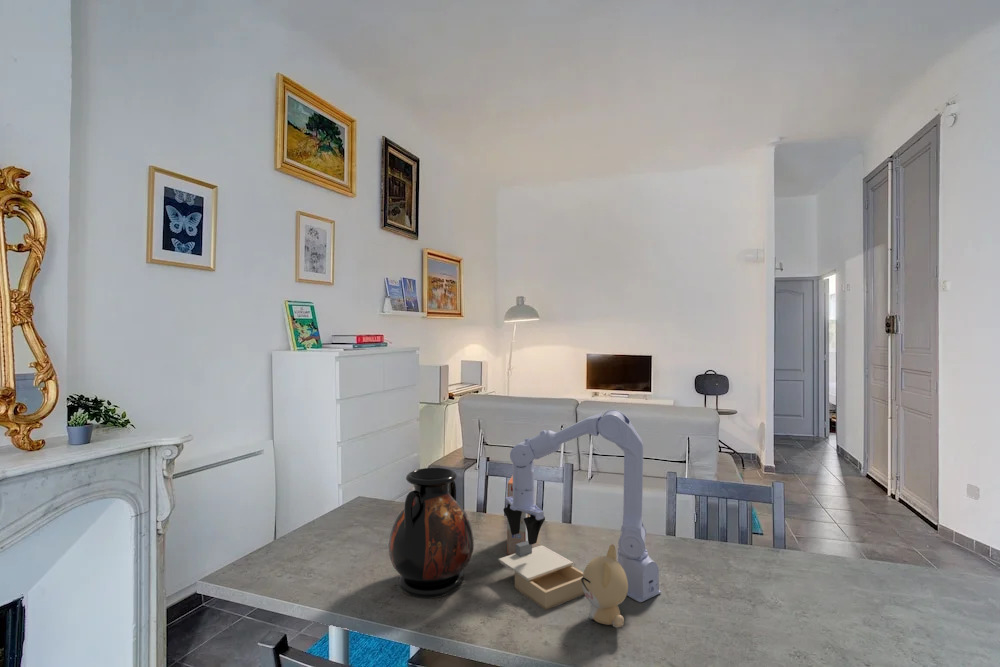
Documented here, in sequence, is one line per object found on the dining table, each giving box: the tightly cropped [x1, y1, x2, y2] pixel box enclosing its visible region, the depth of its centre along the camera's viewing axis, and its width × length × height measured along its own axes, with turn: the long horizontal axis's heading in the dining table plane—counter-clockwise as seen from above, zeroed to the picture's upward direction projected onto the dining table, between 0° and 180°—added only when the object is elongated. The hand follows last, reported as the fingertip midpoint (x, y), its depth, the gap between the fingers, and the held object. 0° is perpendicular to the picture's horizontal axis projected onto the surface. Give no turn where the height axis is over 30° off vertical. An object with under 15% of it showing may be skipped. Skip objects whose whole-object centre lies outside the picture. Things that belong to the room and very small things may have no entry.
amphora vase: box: [387, 467, 475, 599], centre depth 124 cm, size 22×22×28 cm
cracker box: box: [506, 474, 530, 556], centre depth 146 cm, size 14×6×21 cm, turn 168°
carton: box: [514, 565, 585, 611], centre depth 120 cm, size 12×14×4 cm
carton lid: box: [498, 541, 574, 581], centre depth 125 cm, size 13×15×3 cm
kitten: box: [581, 543, 628, 628], centre depth 108 cm, size 15×10×15 cm, turn 159°
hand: (523, 538), depth 129 cm, fingers open, 7 cm apart
